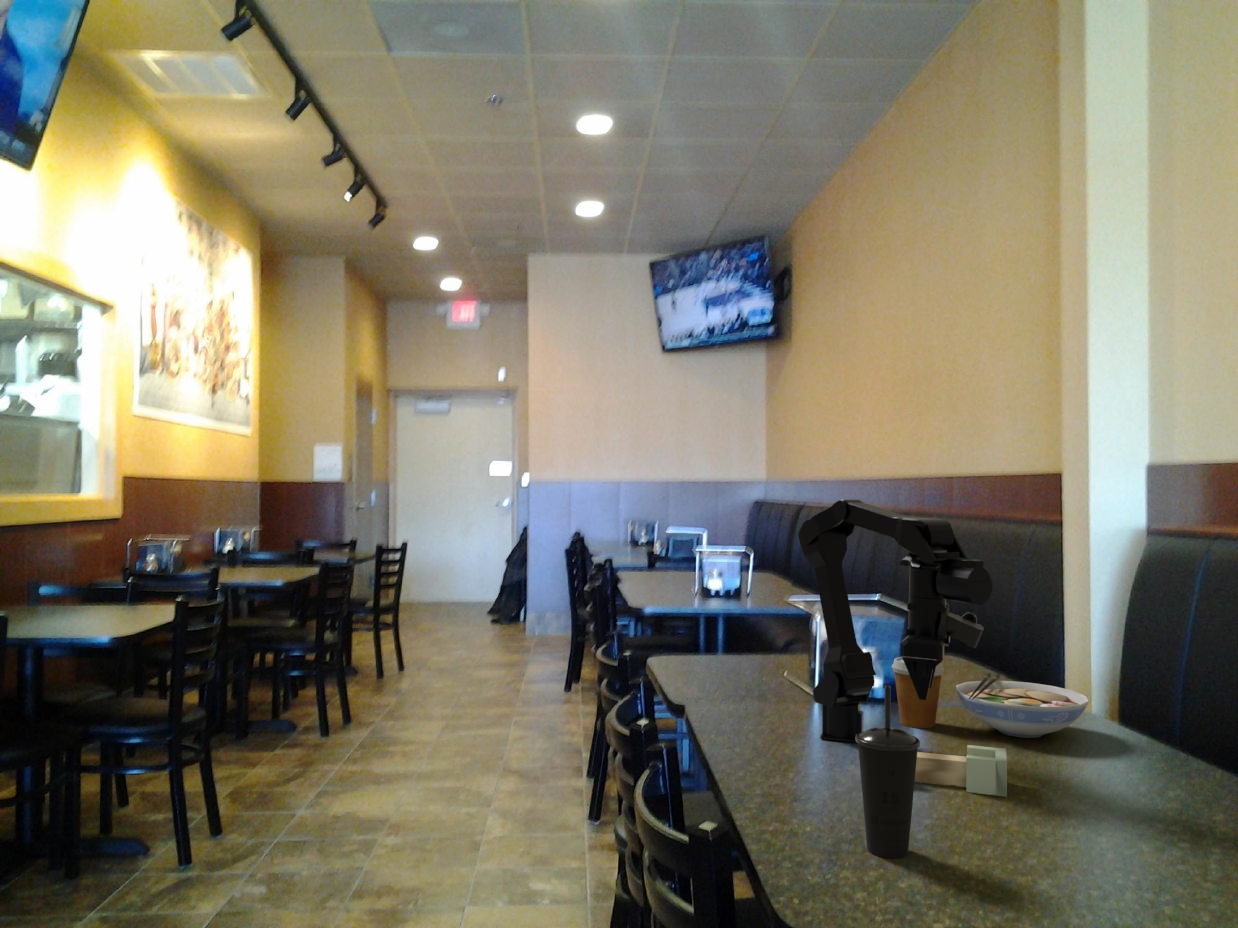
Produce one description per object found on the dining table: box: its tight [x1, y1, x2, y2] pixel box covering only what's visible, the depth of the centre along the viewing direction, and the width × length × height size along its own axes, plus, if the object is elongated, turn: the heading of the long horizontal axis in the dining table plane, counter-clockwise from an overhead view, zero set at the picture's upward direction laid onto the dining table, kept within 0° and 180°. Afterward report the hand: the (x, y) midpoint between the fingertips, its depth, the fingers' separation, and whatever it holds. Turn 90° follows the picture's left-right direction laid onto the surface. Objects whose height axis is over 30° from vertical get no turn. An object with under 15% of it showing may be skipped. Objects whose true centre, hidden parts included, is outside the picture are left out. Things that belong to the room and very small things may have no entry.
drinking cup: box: [855, 685, 921, 859], centre depth 115 cm, size 8×8×20 cm
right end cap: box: [965, 744, 1008, 798], centre depth 140 cm, size 6×8×5 cm
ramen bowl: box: [955, 672, 1090, 739], centre depth 173 cm, size 25×23×8 cm
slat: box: [915, 751, 966, 788], centre depth 143 cm, size 15×3×4 cm, turn 71°
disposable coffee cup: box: [891, 656, 945, 729], centre depth 178 cm, size 10×10×12 cm
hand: (925, 693), depth 151 cm, fingers open, 9 cm apart
